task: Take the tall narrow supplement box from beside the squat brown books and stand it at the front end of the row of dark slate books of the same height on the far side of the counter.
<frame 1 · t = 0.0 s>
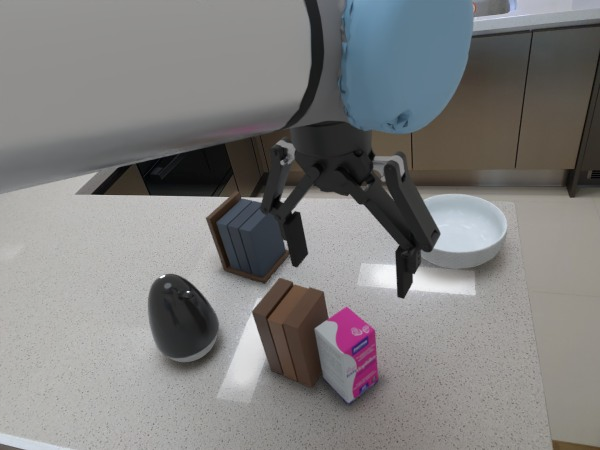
hand: (349, 274, 54), 20 cm above the table, tool pointing down, fingers open, 13 cm apart
supplement box: (351, 381, 66), on the table
dark grey egg shape: (195, 346, 75), on the table
brown books: (302, 360, 70), on the table
slate books: (258, 262, 90), on the table
cereal bowl: (453, 251, 83), on the table
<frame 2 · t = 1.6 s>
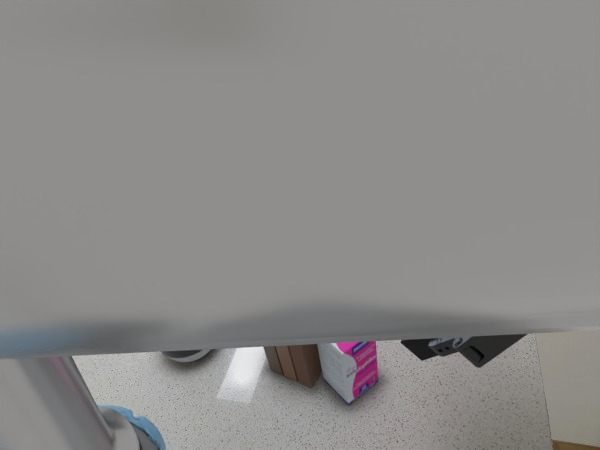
hand: (431, 296, 47), 22 cm above the table, tool tilted 45°, fingers open, 13 cm apart
nothing on the table moved.
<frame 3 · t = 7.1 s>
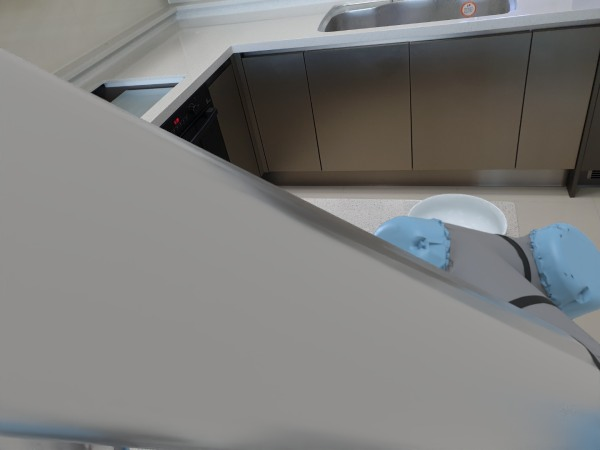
hand: (327, 356, 65), 4 cm above the table, tool tilted 45°, fingers closed on supplement box, 7 cm apart
supplement box: (351, 381, 66), on the table, touching gripper
everything else where it was.
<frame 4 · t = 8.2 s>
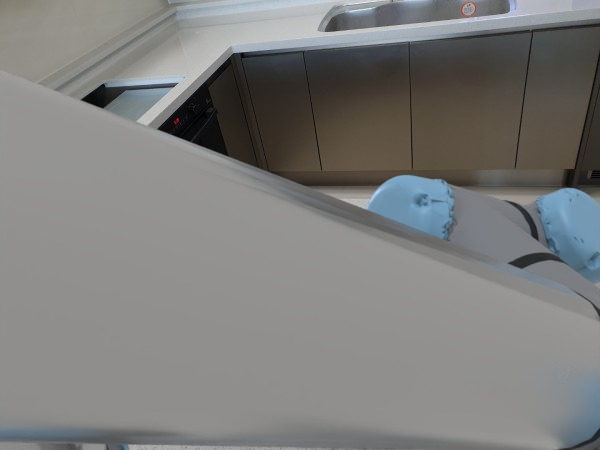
hand: (323, 341, 63), 7 cm above the table, tool tilted 45°, fingers closed on supplement box, 7 cm apart
supplement box: (348, 367, 64), point 3 cm above the table, touching gripper
everything else where it was.
when the fingers open (4 cm above the table, at t = 18.4 s): supplement box stays where it is, on the table.
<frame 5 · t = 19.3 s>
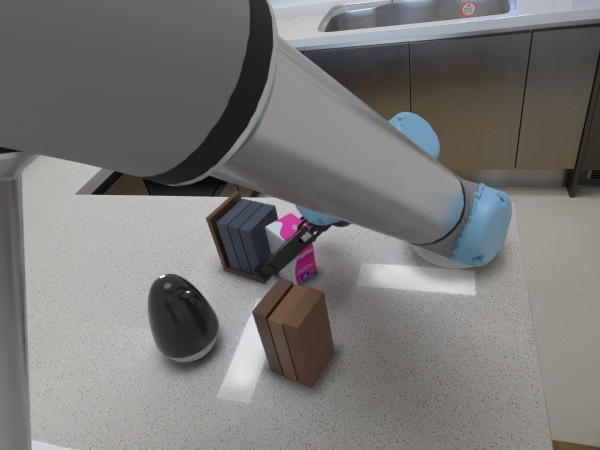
hand: (281, 249, 83), 5 cm above the table, tool tilted 45°, fingers open, 13 cm apart
supplement box: (297, 274, 85), on the table
everything else where it was.
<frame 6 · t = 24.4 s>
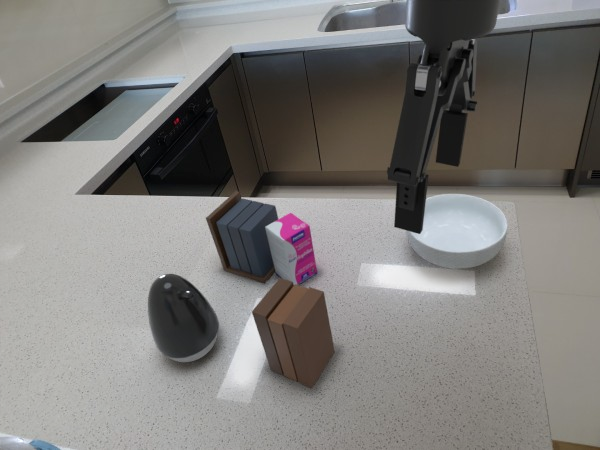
hand: (429, 193, 51), 28 cm above the table, tool pointing down, fingers open, 13 cm apart
nothing on the table moved.
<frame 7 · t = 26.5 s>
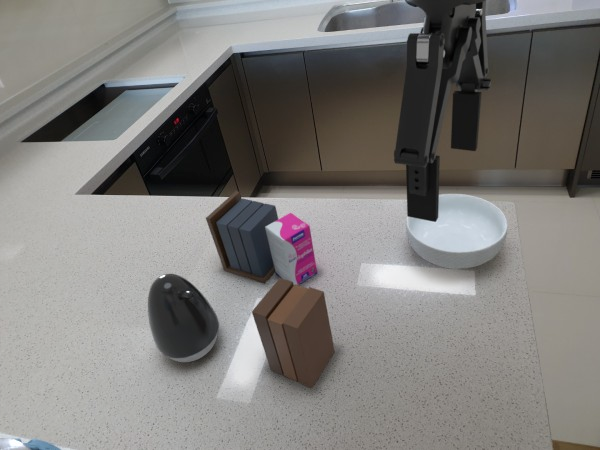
hand: (445, 179, 47), 31 cm above the table, tool pointing down, fingers open, 13 cm apart
nothing on the table moved.
at the end: supplement box 0.0 cm from the target spot on the table beside the slate books, on the table; supplement box tilted 0°; the gripper is holding nothing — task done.
